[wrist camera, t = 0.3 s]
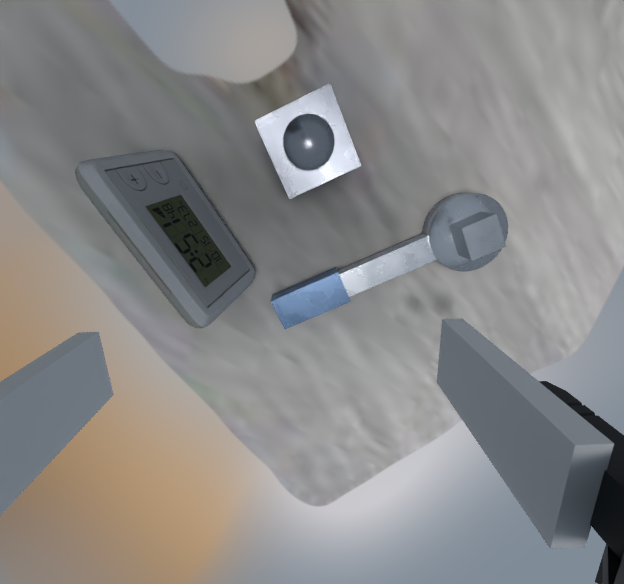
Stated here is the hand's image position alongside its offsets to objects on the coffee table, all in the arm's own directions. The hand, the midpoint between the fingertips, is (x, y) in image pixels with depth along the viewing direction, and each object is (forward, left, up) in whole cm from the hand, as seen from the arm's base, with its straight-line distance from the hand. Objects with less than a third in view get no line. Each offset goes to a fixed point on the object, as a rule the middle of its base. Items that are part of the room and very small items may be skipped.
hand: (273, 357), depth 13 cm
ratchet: (+6, +8, -25) cm, 27 cm away
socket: (-8, +5, -26) cm, 27 cm away
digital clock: (-6, -9, -26) cm, 28 cm away
